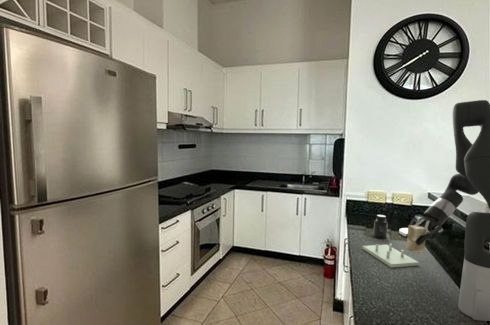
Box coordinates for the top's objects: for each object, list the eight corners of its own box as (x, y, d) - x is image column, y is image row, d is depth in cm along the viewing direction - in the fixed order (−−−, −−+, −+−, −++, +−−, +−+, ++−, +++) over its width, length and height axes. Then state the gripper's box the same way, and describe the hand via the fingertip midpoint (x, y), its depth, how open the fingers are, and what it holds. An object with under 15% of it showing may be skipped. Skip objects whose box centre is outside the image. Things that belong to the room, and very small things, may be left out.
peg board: (418, 265, 127) (419, 255, 126) (391, 267, 124) (392, 257, 123) (386, 247, 146) (387, 238, 146) (362, 248, 143) (363, 240, 143)
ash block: (424, 252, 116) (426, 228, 115) (414, 253, 115) (417, 228, 114) (415, 248, 120) (417, 225, 119) (406, 248, 119) (408, 225, 118)
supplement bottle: (388, 236, 162) (390, 216, 161) (384, 239, 157) (386, 218, 156) (375, 233, 167) (377, 213, 166) (371, 236, 162) (373, 215, 161)
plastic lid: (412, 241, 157) (413, 237, 157) (393, 232, 171) (393, 228, 170) (433, 240, 161) (433, 235, 161) (412, 231, 174) (413, 227, 174)
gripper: (420, 201, 124) (394, 229, 123) (450, 209, 110) (421, 241, 109) (429, 213, 126) (403, 241, 124) (460, 223, 112) (431, 254, 111)
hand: (412, 241), depth 117 cm, fingers closed on ash block, 4 cm apart
